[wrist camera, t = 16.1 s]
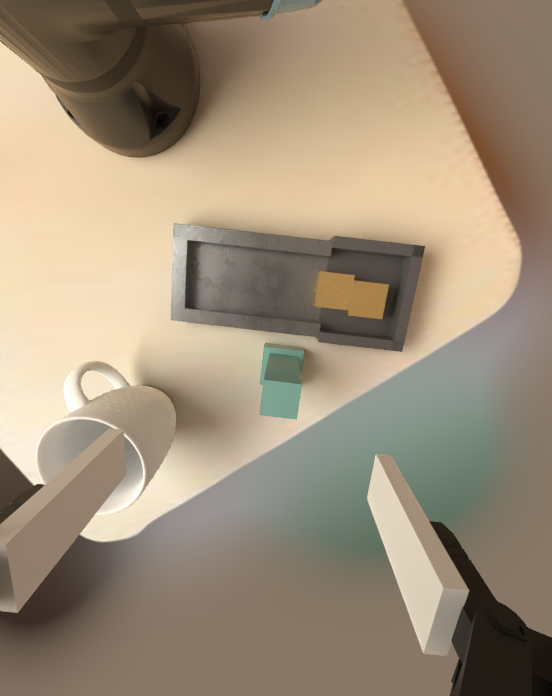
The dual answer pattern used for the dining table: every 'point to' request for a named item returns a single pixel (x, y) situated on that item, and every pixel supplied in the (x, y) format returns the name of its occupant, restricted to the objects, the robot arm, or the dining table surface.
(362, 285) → the chip
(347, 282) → the chip
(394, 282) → the tray
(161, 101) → the robot arm
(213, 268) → the dark gray shallow tray
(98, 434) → the mug
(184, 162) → the dining table surface
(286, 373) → the teal t-shaped block
